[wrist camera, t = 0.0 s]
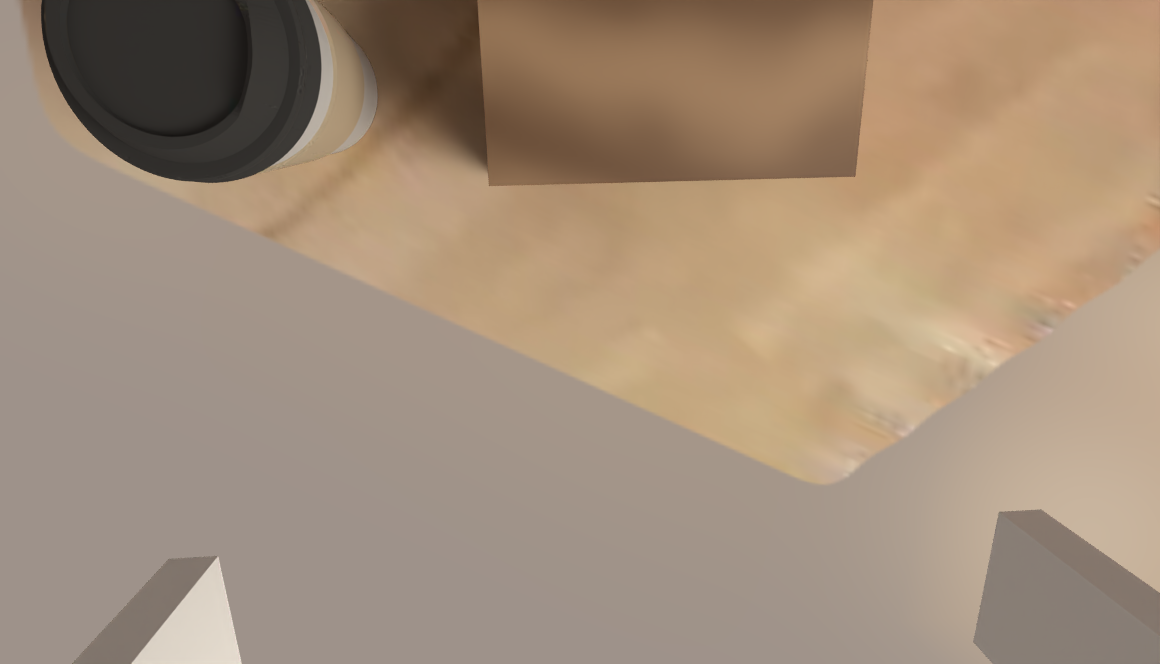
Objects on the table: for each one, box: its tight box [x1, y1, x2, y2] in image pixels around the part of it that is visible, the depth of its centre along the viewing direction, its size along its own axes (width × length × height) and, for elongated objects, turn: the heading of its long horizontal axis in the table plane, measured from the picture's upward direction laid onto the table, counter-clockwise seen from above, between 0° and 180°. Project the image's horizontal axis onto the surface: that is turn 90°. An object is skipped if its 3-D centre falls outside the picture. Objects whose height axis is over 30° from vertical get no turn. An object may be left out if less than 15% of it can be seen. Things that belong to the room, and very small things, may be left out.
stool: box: [477, 0, 873, 186], centre depth 29 cm, size 16×16×10 cm
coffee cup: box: [41, 0, 378, 183], centre depth 26 cm, size 9×9×15 cm
